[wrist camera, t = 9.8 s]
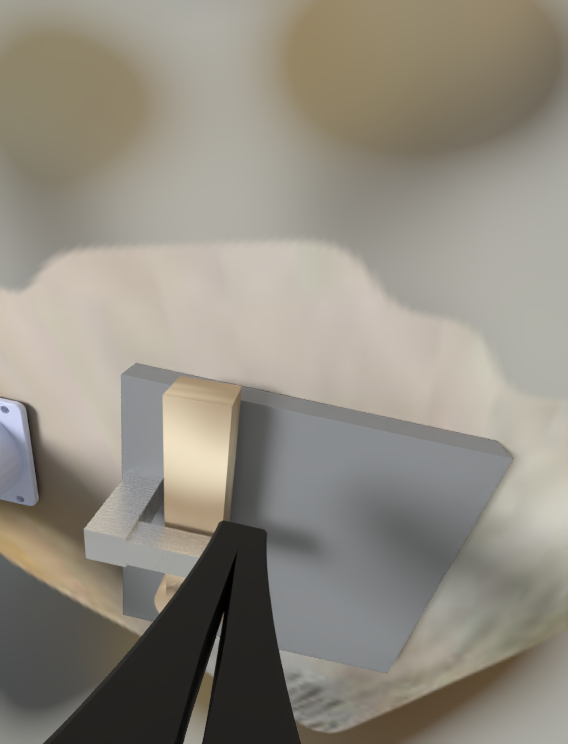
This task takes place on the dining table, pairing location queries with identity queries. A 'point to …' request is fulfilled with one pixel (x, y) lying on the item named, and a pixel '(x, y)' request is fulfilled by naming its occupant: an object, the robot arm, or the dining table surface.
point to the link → (197, 460)
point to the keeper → (140, 530)
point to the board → (330, 513)
